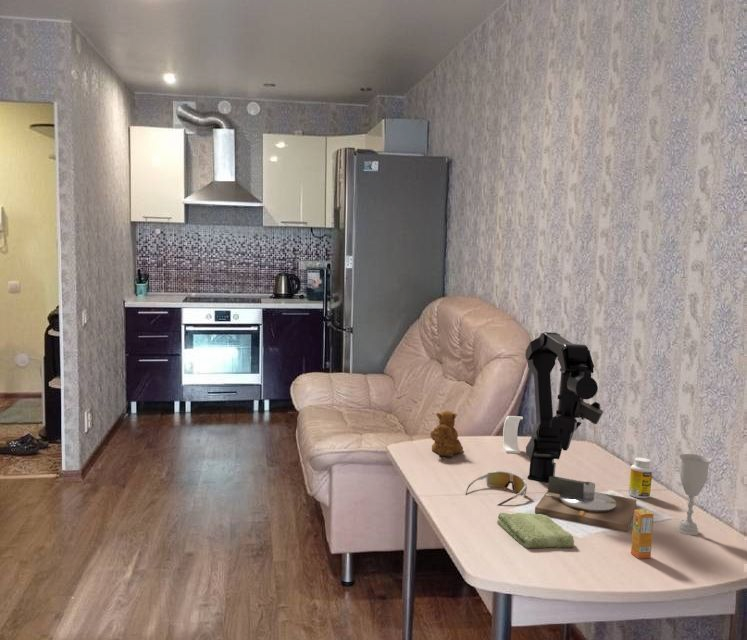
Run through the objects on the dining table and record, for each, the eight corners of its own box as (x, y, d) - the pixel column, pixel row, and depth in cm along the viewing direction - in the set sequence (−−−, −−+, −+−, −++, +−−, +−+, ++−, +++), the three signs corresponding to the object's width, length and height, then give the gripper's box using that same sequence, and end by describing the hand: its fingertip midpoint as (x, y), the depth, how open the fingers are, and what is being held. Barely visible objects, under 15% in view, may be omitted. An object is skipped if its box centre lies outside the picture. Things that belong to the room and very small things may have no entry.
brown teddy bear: (463, 450, 243) (466, 410, 241) (458, 461, 229) (461, 418, 228) (432, 446, 245) (435, 406, 244) (426, 457, 231) (428, 415, 230)
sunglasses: (535, 496, 200) (535, 478, 199) (503, 516, 189) (503, 497, 188) (490, 482, 210) (490, 466, 209) (458, 501, 199) (458, 483, 198)
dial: (619, 500, 195) (620, 481, 195) (612, 516, 182) (614, 496, 182) (553, 488, 202) (554, 469, 202) (542, 502, 189) (544, 483, 189)
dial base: (534, 513, 186) (535, 506, 186) (552, 489, 206) (552, 483, 206) (627, 531, 177) (628, 524, 177) (636, 505, 197) (636, 498, 197)
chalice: (689, 538, 175) (696, 463, 174) (665, 527, 181) (673, 455, 180) (710, 534, 179) (718, 460, 177) (686, 524, 185) (694, 453, 183)
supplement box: (628, 552, 164) (633, 508, 163) (643, 552, 165) (647, 508, 164) (636, 559, 161) (641, 514, 160) (651, 558, 162) (655, 513, 161)
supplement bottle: (641, 500, 202) (644, 463, 201) (624, 494, 206) (627, 457, 205) (654, 497, 205) (657, 461, 204) (637, 491, 209) (640, 455, 208)
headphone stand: (506, 452, 242) (508, 416, 241) (501, 447, 248) (504, 412, 247) (520, 453, 242) (523, 417, 241) (515, 448, 248) (518, 412, 247)
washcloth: (544, 521, 182) (545, 508, 182) (577, 550, 165) (579, 536, 165) (493, 521, 179) (494, 508, 179) (522, 551, 162) (523, 537, 162)
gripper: (597, 401, 186) (591, 463, 187) (606, 390, 203) (601, 446, 204) (551, 395, 190) (546, 455, 192) (565, 385, 207) (560, 440, 209)
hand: (565, 449), depth 199 cm, fingers closed
